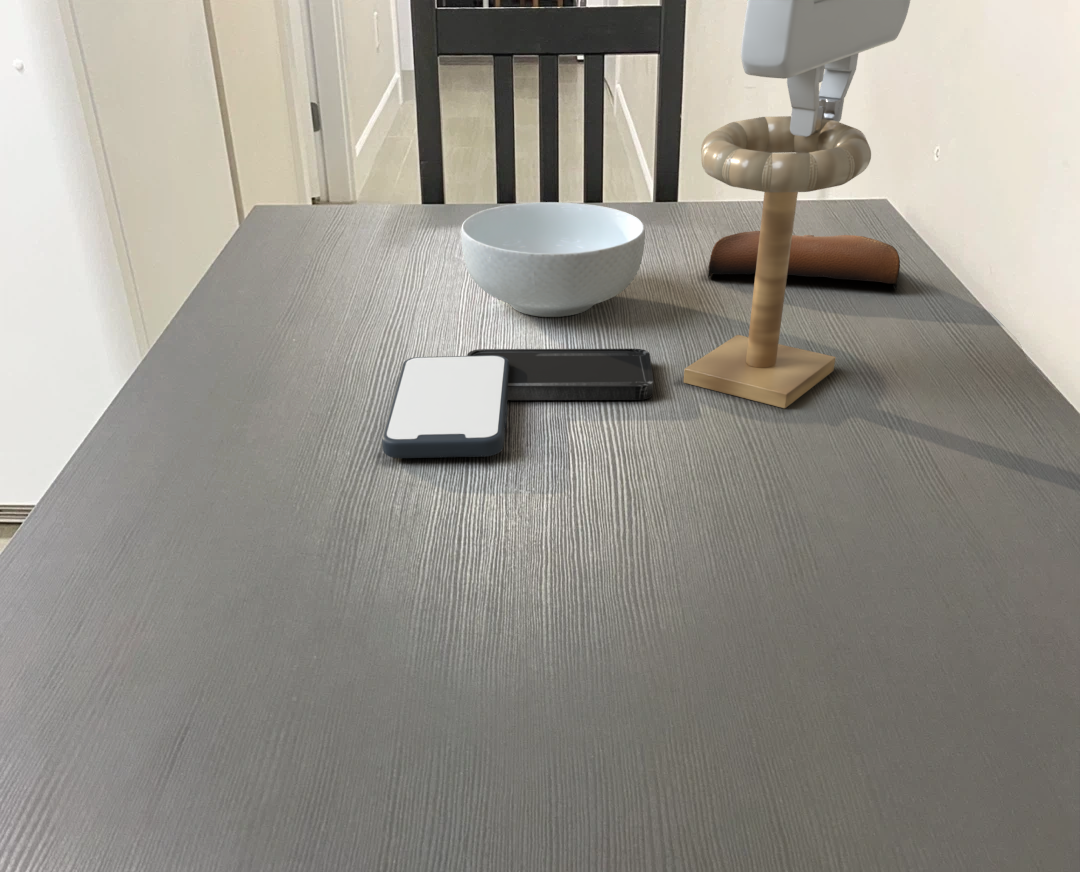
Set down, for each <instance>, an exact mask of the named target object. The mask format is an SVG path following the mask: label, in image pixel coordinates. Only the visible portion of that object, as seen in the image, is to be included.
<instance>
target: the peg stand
mask: <svg viewBox="0 0 1080 872" xmlns="http://www.w3.org/2000/svg"><path fill="white" fill-rule="evenodd" d="M763 193H764V194H763V201H762V211H761V218H760V219H761V220H760V228H759V231H760V237H759V246H758V255H757V264H756V273H754V283H753V291H752V292H753V293H752V301H751V311H750V320H749V321H750V322H749V328H748V336H745V335H742V334H741V335H740V334H736V335H734V336H733V337H731V338H730V339H728V340H726V341H725V342H723V343H722V344H720V345H719V346H717V347H716V348H714V349H713V350H711V351H710V352H708V353H706V354H705V355H703V356H702V357H700V358H699V359H697V360H695V361H694V362H693V363H691V364H690V365H688V366H686V367H684V369H683V371H684V372H683V384H687V385H692V386H695V387H699V388H703V389H707V390H711V391H714V392H718V393H723V394H726V395H731V396H733V397H734V396H735V397H738V398H741V399H746V400H749V401H753V402H758V403H762V404H766V405H769V406H773V407H777V408H781V409H786V408H788V407H789V406H791V404H793V403H794V402H796V401H797V400H798V399H799V398H800V397H802V396H803V395H805V394H806V393H808V391H810V390H811V389H812V388H813V387H814V386H817V384H818V383H820V382H821V381H823V380H824V379H825V378H826V377H828V376H829V375H830V374H832V373H833V372H834V370H835V364H836V359H837V358H836V356H834V355H829V354H825V353H820V352H816V351H811V350H807V349H803V348H798V347H793V346H789V345H784V344H780V343H779V342H780V336H781V335H780V334H781V326H782V318H783V311H784V304H785V297H786V296H785V295H786V288H787V279H788V275H787V273H788V265H789V257H790V250H791V242H792V235H794V234H793V233H794V226H795V225H794V224H795V219H796V218H795V217H796V211H797V204H798V203H797V202H798V194H799V192H763Z"/></svg>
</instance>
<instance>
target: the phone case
mask: <svg viewBox="0 0 1080 872" xmlns="http://www.w3.org/2000/svg"><path fill="white" fill-rule="evenodd" d="M508 379H509V361H508V359H507V358H505V357H503V356H498V355H484V356H467V355H447V356H446V355H444V356H415V357H410V358H408V359H406V360H404V361H403V362H402V364H401V368H400V371H399V376H398V379H397V382H396V386H395V389H394V393H393V397H392V400H391V403H390V407H389V409H388V413H387V417H386V421H385V425H384V428H383V431H382V435H381V444H382V451H383V454H385V455H386V456H387V457H390V458H393V459H429V458H432V459H433V458H435V459H437V458H476V457H479V458H480V457H491V456H495V455H497V454H499V453H501V452H502V450H503V449H504V444H505V433H506V428H507V422H508V413H509V412H508V400H507V398H508Z"/></svg>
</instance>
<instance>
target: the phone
mask: <svg viewBox="0 0 1080 872" xmlns="http://www.w3.org/2000/svg"><path fill="white" fill-rule="evenodd" d="M484 355H498V356H503V357H505V358H507V359H508V361H509V379H508V398H507V401H642V400H647V399H650V398H651V397H652V396H653V392H654V375H653V370H652V369H653V368H652V361H651V355H650V352H649V351H648V350H646V349H643V348H478V349H472V350H470V351H468V352H467V355H466V356H484Z"/></svg>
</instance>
